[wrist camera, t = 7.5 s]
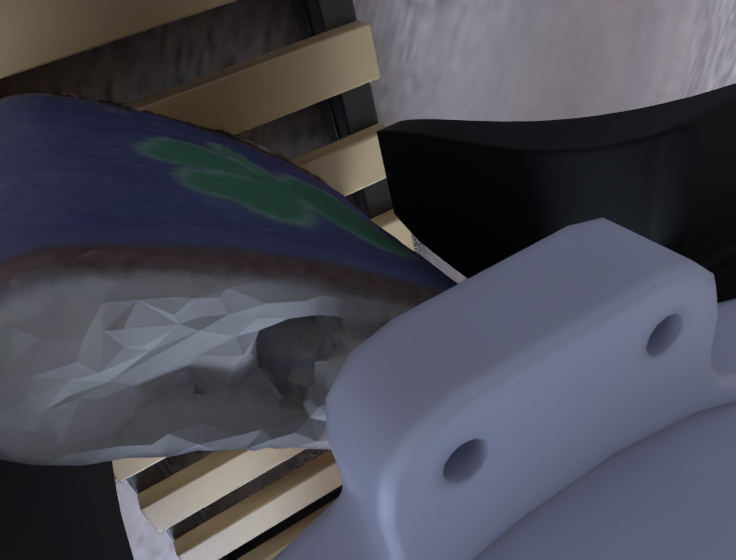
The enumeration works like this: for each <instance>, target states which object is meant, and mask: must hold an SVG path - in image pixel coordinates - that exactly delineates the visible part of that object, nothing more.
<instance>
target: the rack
mask: <svg viewBox="0 0 736 560" xmlns="http://www.w3.org/2000/svg"><path fill="white" fill-rule="evenodd" d="M234 1H237V0H0V79H2V78H5V77H8V76H11V75H14V74H17V73H20V72H23V71H26V70H29V69H32V68H35V67H38V66H41V65H44V64H47V63H50V62H53V61H57V60H60V59H63V58H66V57H69V56H72V55H75V54H78V53H81V52H84V51H87V50H90V49H93V48H96V47H99V46H102V45H105V44H108V43H111V42H114V41H117V40H120V39H123V38H126V37H129V36H132V35H135V34H138V33H141V32H144V31H147V30H150V29H153V28H156V27H159V26H162V25H165V24H168V23H171V22H174V21H177V20H180V19H183V18H186V17H189V16H192V15H195V14H198V13H201V12H204V11H207V10H210V9H213V8H216V7H219V6H222V5H225V4H228V3H231V2H234ZM292 2H293V5H294V9H295V13H296V17H297V20H298V24H299V28H300V31H301V35H302V39H303V40H302V41H299V42H296V43H294V44H291V45H288V46H285V47H283V48H280V49H277V50H274V51H272V52H269V53H266V54H263V55H261V56H258V57H255V58H252V59H250V60H247V61H244V62H241V63H239V64H236V65H233V66H230V67H228V68H225V69H222V70H219V71H217V72H214V73H211V74H208V75H206V76H203V77H200V78H197V79H195V80H192V81H189V82H186V83H184V84H181V85H178V86H175V87H173V88H170V89H167V90H164V91H162V92H159V93H156V94H153V95H151V96H148V97H145V98H142V99H140V100H137V101H134V102H131V103H129V104H126V105H123V106H129V107H130V108H135V109H136V110H138V111H144V110H147V111H151V112H153V113H154V114H161V115H162V116H167V117H169V118H175V119H178V120H181V121H186V122H188V121H189V122H190V123H192V124H194V125H197V126H198V127H200V126H202V127H205V128H211V129H214V130H217V129H219V130H224V131H225V132H229V133H231V134H233V135H238V134H240V133H243V132H245V131H248V130H250V129H253V128H255V127H258V126H260V125H263V124H265V123H268V122H270V121H273V120H276V119H278V118H281V117H283V116H286V115H288V114H291V113H293V112H296V111H298V110H301V109H303V108H306V107H308V106H311V105H313V104H316V103H318V102H320V106H321V110H322V114H323V117H324V121H325V125H326V128H327V132H328V136H329V140H330V143H331V144H328V145H326V146H323V147H321V148H319V149H316V150H314V151H312V152H309V153H307V154H305V155H302V156H300V157H297V158H295V159H293V160H290V161H293V162H294V163H295V164H297V165H299V166H300V167H302V168H304V169H305V170H306V169H307V170H308V171H311V172H312V174H317V175H318V176H319V177H321V178H322V179H323V180H324V181H326V182H327V184H328V185H329V186H330V187H332V188H334V189H335V190H337V191H338V192H340V193H341V194H343V195H344V196H345V197H346V199H347V200H348V201H349V202H350V203H351V204H352V205H354V206H355V207H356V208H358V209H359V210H360V211H361V212H362V213H363V214H365V215H366V216H367V217H368V218H369V219H370V220H372V221H373V222H374V223H375V224H377V225H378V226H380V227H381V228H383V229H384V230H385V231H387V232H388V233H390V234H391V235H393V236H394V237H396V238H397V239H398V240H399V241H400V242H401V243H402V244H404V245H405V246H407V247H408V248H410V249H411V250H413V251H414V249H415V248H414V243H413V238H412V233H411V232H410V231H409V230H408V229H407V228H406V226H405V225H404V224H403V223H402V222H401V221H400V220H399V219H398V217H397V216H396V215H395V214H394V211H393V206H392V201H391V197H390V192H389V188H388V183H387V178H386V174H385V169H384V164H383V160H382V155H381V150H380V146H379V141H378V136H377V132H376V131H379V130H381V129H383V128H386V126H384V125H382V124H381V123H378V119H377V114H376V109H375V104H374V100H373V95H372V90H371V85H370V82H371V81H373V80H376V79H378V78H380V71H379V66H378V61H377V56H376V51H375V46H374V41H373V36H372V31H371V26H370V23H366V22H362V21H358V20H357V19H356V15H355V10H354V5H353V0H292ZM303 450H305V449H304V448H283V449H274V448H265V449H261V450H256V451H251V450H246V449H237V450H224V451H215V452H213V453H211V454H210V455H208V456H206V457H204V458H202V459H200V460H199V461H197V462H195V463H193V464H191V465H190V466H188V467H186V468H184V469H182V470H180V471H179V472H177V473H176V471H175V470H174V468H173V467H172V465H171V464H170V462H169V461H168V459H167V458H166V457H150V458H124V459H118V460H113V461H112V464H113V471H114V476H115V477H116V479H117V480H118V481H119V482H122V481H124V480H127V481H128V482H129V484H130V485H131V486H132V488H133V489H134V490H135V491H136V493H137V494H138V495H137V497H138V501H139V505H140V509H141V511H142V512H143V514H144V515H145V516H146V517H147V519H148V520H149V521H150V523H151V524H152V525H153V526H154V528H155V529H156V530H157V532H158V533H161V532H163V531H164V530H165V531H166V532H167V533H168V534H169V536H170V537H171V538H172V540H173V544H174V547H175V551H176V555H177V557H178V558H179V559H180V560H273V559H274V558H275V557H276V556H277V555H278V554H279V553H280V552H281V551H282V550H283V549H284V548H285V547H286V546H287V545H289V544H290V543H291V542H292V541H293V540H294V539H295V538H296V537H297V536H298V535H299V534H300V533H301V532H302V531H303V530H304V529H306V528H307V527H308V526H309V525H310V524H311V523H312V522H313V521H314V520H315V519H316V518H317V517H318V516H319V515H320V514H322V513H323V512H324V511H325V510H326V509H327V508H328V507H329V506H330V505H331V504H332V503H333V502H334V501H335V500H336V499H338V497H339V495H340V494H341V492H342V481H341V476H340V471H339V468H338V466H337V463H336V461H335V458H334V456H333V453H332V451H331V450H328V451H326V452H324V453H323V454H321V455H319V456H317V457H316V458H314V459H312V460H311V461H309V462H307V463H305V464H304V465H302V466H300V467H299V468H297V469H295V470H293V471H292V472H290V473H288V474H287V475H285V476H283V477H281V478H280V479H278V480H276V481H275V482H273V483H271V484H269V485H268V486H266V487H264V488H262V489H261V490H259V491H257V492H256V493H254V494H252V495H250V496H249V497H247V498H245V499H244V500H242V501H240V502H238V503H237V504H235V505H233V506H232V507H230V508H228V509H226V510H225V511H223V512H221V513H220V514H218V515H216V516H214V517H213V518H211V519H209V520H208V519H207V517H206V516H205V514H204V513H203V511H202V510H201V509H203V508H204V507H206V506H208V505H209V504H211V503H213V502H215V501H216V500H218V499H220V498H222V497H223V496H225V495H227V494H229V493H230V492H232V491H234V490H236V489H237V488H239V487H241V486H243V485H244V484H246V483H248V482H249V481H251V480H253V479H255V478H256V477H258V476H260V475H262V474H263V473H265V472H267V471H269V470H270V469H272V468H274V467H276V466H277V465H279V464H281V463H282V462H284V461H286V460H288V459H289V458H291V457H293V456H295V455H296V454H298V453H300V452H302V451H303Z"/></svg>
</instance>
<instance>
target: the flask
mask: <svg viewBox="0 0 736 560" xmlns="http://www.w3.org/2000/svg"><path fill="white" fill-rule="evenodd" d="M456 285H457V283H456V282H454V281H453V280H452V279H450V278H449V277H448V276H446V275H445V274H444V273H443V272H441V271H440V270H439V269H438V268H436V267H435V266H434V265H433V264H431V263H430V262H429V261H427V260H426V259H425V258H424V257H422V256H421V255H419V254H418V253H416V252H414V251H413V250H411V249H410V248H408V247H407V246H405V245H404V244H402V243H401V242H400V241H399V240H398V239H397V238H396V237H394V236H393V235H391V234H390V233H388V232H387V231H385V230H384V229H383V228H381V227H380V226H378V225H377V224H375V223H374V222H373V221H372V220H370V219H369V218H368V217H367V216H366V215H365V214H363V213H362V212H361V211H360V210H359V209H358V208H356V207H355V206H354V205H352V204H351V203H350V202H349V201H348V200H347V199H346V197H345V196H344V195H343V194H341V193H340V192H338V191H337V190H335V189H334V188H332V187H330V186H329V185H328V184H327V182H326V181H324V180H323V179H322V178H321V177H319V176H318V175H317V174H312V172H311V171H308V170H307V169H306V170H305V169H304V168H302V167H300V166H299V165H297V164H295V163H294V162H293V161H290V159H289V158H288V157H286V156H283V155H282V154H281V155H276V153H273V152H272V151H270V150H269V149H268V148H267V147H265V146H259V145H258V144H257V143H254V142H253V141H252V140H244V139H241V138H238V137H236V136H235V135H233V134H231V133H229V132H225V131H224V130H219V129H217V130H214V129H211V128H205V127H202V126H200V127H198V126H197V125H194V124H192V123H190V122H189V121H188V122H186V121H181V120H178V119H175V118H169V117H167V116H162V115H161V114H154V113H153V112H151V111H147V110H144V111H138V110H136V109H135V108H130V107H129V106H123V104H122V103H118V104H117V103H114V102H112V101H105V100H94V99H93V98H92V99H89V98H88V97H86V96H81V95H73V94H72V93H69V94H65V95H64V94H62V93H58V92H55V93H46V92H41V91H36V92H32V91H31V92H29V93H28V92H25V93H21V94H15V95H12V96H5V97H4V98H2V99H0V460H4V461H10V462H15V463H20V464H31V465H73V466H83V465H89V464H95V463H101V462H107V461H113V460H118V459H124V458H150V457H171V456H175V455H180V454H185V453H190V452H195V451H200V450H203V451H224V450H237V449H246V450H251V451H256V450H261V449H265V448H274V449H283V448H304V449H323V450H331V448H330V446H329V443H328V441H327V438H326V399H325V398H326V396H327V394H328V393H329V391H330V389H331V387H332V385H333V383H334V382H335V380H336V378H337V376H338V374H339V372H340V371H341V369H342V367H343V365H344V363H345V361H346V360H347V358H348V356H349V354H350V353H351V352H352V351H353V350H355V349H356V348H357V347H358V346H360V345H361V344H362V343H363V342H364V341H366V340H367V339H368V338H369V337H371V336H372V335H373V334H374V333H376V332H377V331H378V330H379V329H380V328H382V327H383V326H384V325H385V324H387V323H388V322H389V321H390V320H392V319H393V318H395V317H397V316H399V315H401V314H403V313H405V312H407V311H409V310H410V309H412V308H414V307H416V306H418V305H420V304H422V303H424V302H425V301H427V300H429V299H431V298H433V297H435V296H437V295H439V294H441V293H442V292H444V291H446V290H448V289H450V288H452V287H454V286H456Z"/></svg>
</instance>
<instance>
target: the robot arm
mask: <svg viewBox="0 0 736 560" xmlns="http://www.w3.org/2000/svg"><path fill="white" fill-rule="evenodd" d="M376 132H377V136H378V141H379V146H380V150H381V155H382V160H383V164H384V169H385V174H386V178H387V183H388V188H389V192H390V197H391V201H392V206H393V211H394V214H395V215H396V216H397V217H398V219H399V220H400V221H401V222H402V223H403V224H404V225H405V226H406V228H407V229H408V230H409V231H410V232H411V233H412V234H413V235H414V236H415V237H416V238H417V239H418V240H419V241H420V242H421V243H422V244H424V245H425V246H426V247H427V248H429V249H430V250H431V251H432V252H434V253H435V254H436V255H438V256H439V257H440V258H441V259H443V260H444V261H445V262H447V263H448V264H449V265H450V266H452V267H453V268H454V269H456V270H457V271H458V272H460V273H461V274H462V275H464V276H465V277H466V278H468V279H467V280H465V281H463V282H461V283H459V284H457V285H456V286H454V287H452V288H450V289H448V290H446V291H444V292H442V293H441V294H439V295H437V296H435V297H433V298H431V299H429V300H427V301H425V302H424V303H422V304H420V305H418V306H416V307H414V308H412V309H410V310H409V311H407V312H405V313H403V314H401V315H399V316H397V317H395V318H393V319H392V320H390V321H389V322H388V323H387V324H385V325H384V326H383V327H382V328H380V329H379V330H378V331H377V332H376V333H374V334H373V335H372V336H371V337H369V338H368V339H367V340H366V341H364V342H363V343H362V344H361V345H360V346H358V347H357V348H356V349H355V350H353V351H352V352H351V353H350V354H349V356H348V358H347V360H346V361H345V363H344V365H343V367H342V369H341V371H340V372H339V374H338V376H337V378H336V380H335V382H334V383H333V385H332V387H331V389H330V391H329V393H328V394H327V396H326V398H325V399H326V438H327V441H328V443H329V446H330V448H331V451H332V453H333V456H334V458H335V461H336V463H337V466H338V468H339V471H340V476H341V481H342V492H341V494H340V495H339V497H338V499H336V500H335V501H334V502H333V503H332V504H331V505H330V506H329V507H328V508H327V509H326V510H325V511H324V512H323V513H322V514H320V515H319V516H318V517H317V518H316V519H315V520H314V521H313V522H312V523H311V524H310V525H309V526H308V527H307V528H306V529H304V530H303V531H302V532H301V533H300V534H299V535H298V536H297V537H296V538H295V539H294V540H293V541H292V542H291V543H290V544H289V545H287V546H286V547H285V548H284V549H283V550H282V551H281V552H280V553H279V554H278V555H277V556H276V557H275V558H274V559H273V560H736V84H732V85H729V86H726V87H722V88H719V89H716V90H712V91H709V92H706V93H703V94H699V95H696V96H692V97H688V98H684V99H680V100H675V101H671V102H667V103H663V104H659V105H654V106H649V107H644V108H640V109H635V110H629V111H623V112H617V113H611V114H605V115H598V116H591V117H583V118H573V119H561V120H548V121H514V122H498V121H465V120H439V119H414V120H404V121H400V122H397V123H395V124H393V125H390V126H388V127H386V128H383V129H381V130H379V131H376ZM0 560H134V559H133V555H132V552H131V548H130V545H129V541H128V538H127V534H126V530H125V527H124V523H123V520H122V516H121V512H120V507H119V502H118V497H117V491H116V484H115V477H114V471H113V464H112V461H107V462H101V463H95V464H89V465H83V466H73V465H31V464H20V463H15V462H10V461H4V460H0Z"/></svg>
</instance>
